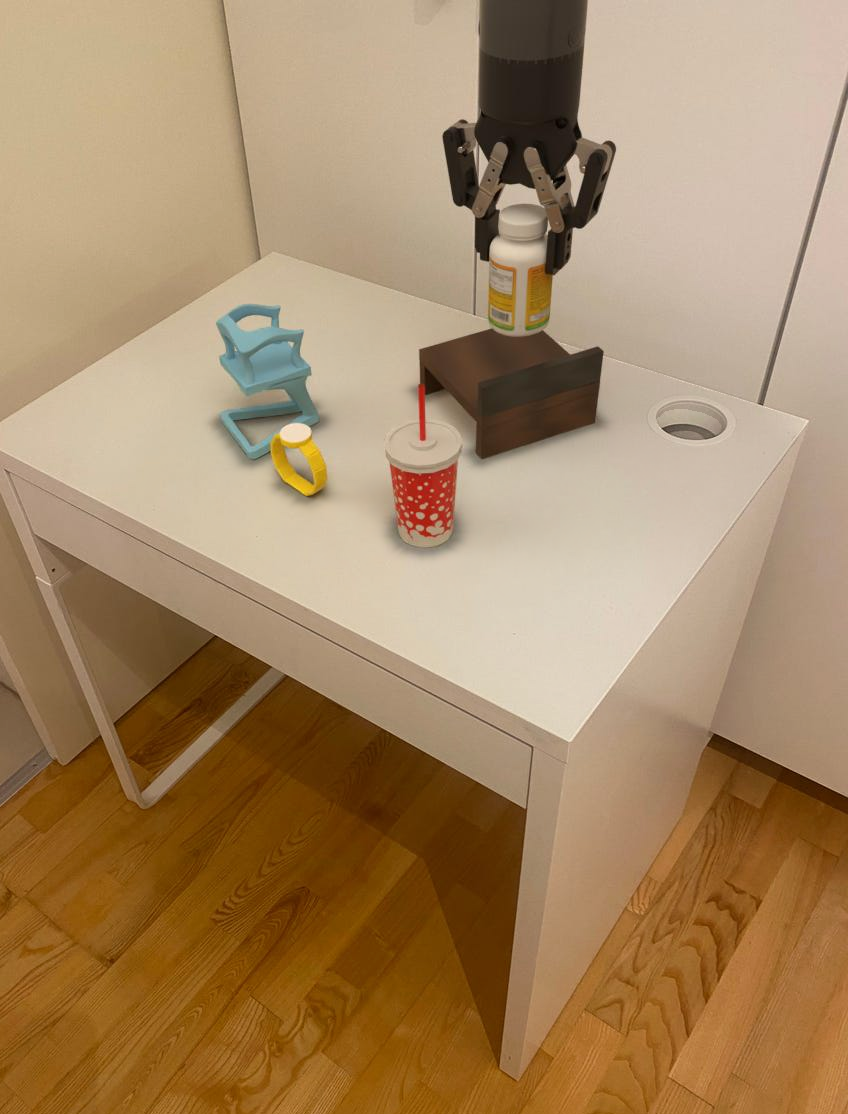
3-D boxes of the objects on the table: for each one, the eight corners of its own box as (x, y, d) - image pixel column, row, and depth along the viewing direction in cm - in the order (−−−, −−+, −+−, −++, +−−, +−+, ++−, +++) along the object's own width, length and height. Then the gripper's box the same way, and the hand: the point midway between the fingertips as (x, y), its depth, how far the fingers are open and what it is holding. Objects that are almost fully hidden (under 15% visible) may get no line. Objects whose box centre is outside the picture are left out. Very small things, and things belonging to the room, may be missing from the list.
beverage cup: (457, 556, 81) (458, 410, 71) (384, 551, 82) (374, 407, 72) (465, 508, 85) (466, 364, 75) (395, 504, 86) (386, 361, 76)
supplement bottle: (548, 307, 89) (556, 198, 82) (550, 338, 85) (558, 227, 78) (488, 308, 89) (490, 199, 82) (487, 339, 86) (489, 228, 79)
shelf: (526, 357, 101) (530, 288, 95) (595, 422, 92) (604, 350, 87) (419, 389, 98) (417, 320, 93) (481, 459, 90) (483, 387, 84)
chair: (330, 433, 94) (318, 316, 85) (250, 461, 92) (229, 344, 83) (297, 394, 99) (282, 281, 90) (220, 420, 97) (197, 306, 88)
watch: (268, 480, 90) (258, 425, 85) (291, 466, 91) (282, 411, 86) (313, 508, 86) (305, 452, 82) (336, 493, 88) (329, 437, 83)
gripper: (647, 32, 70) (618, 261, 83) (467, 14, 76) (466, 230, 88) (606, 65, 66) (582, 301, 78) (419, 44, 72) (424, 267, 84)
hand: (521, 263), depth 83 cm, fingers closed on supplement bottle, 5 cm apart
